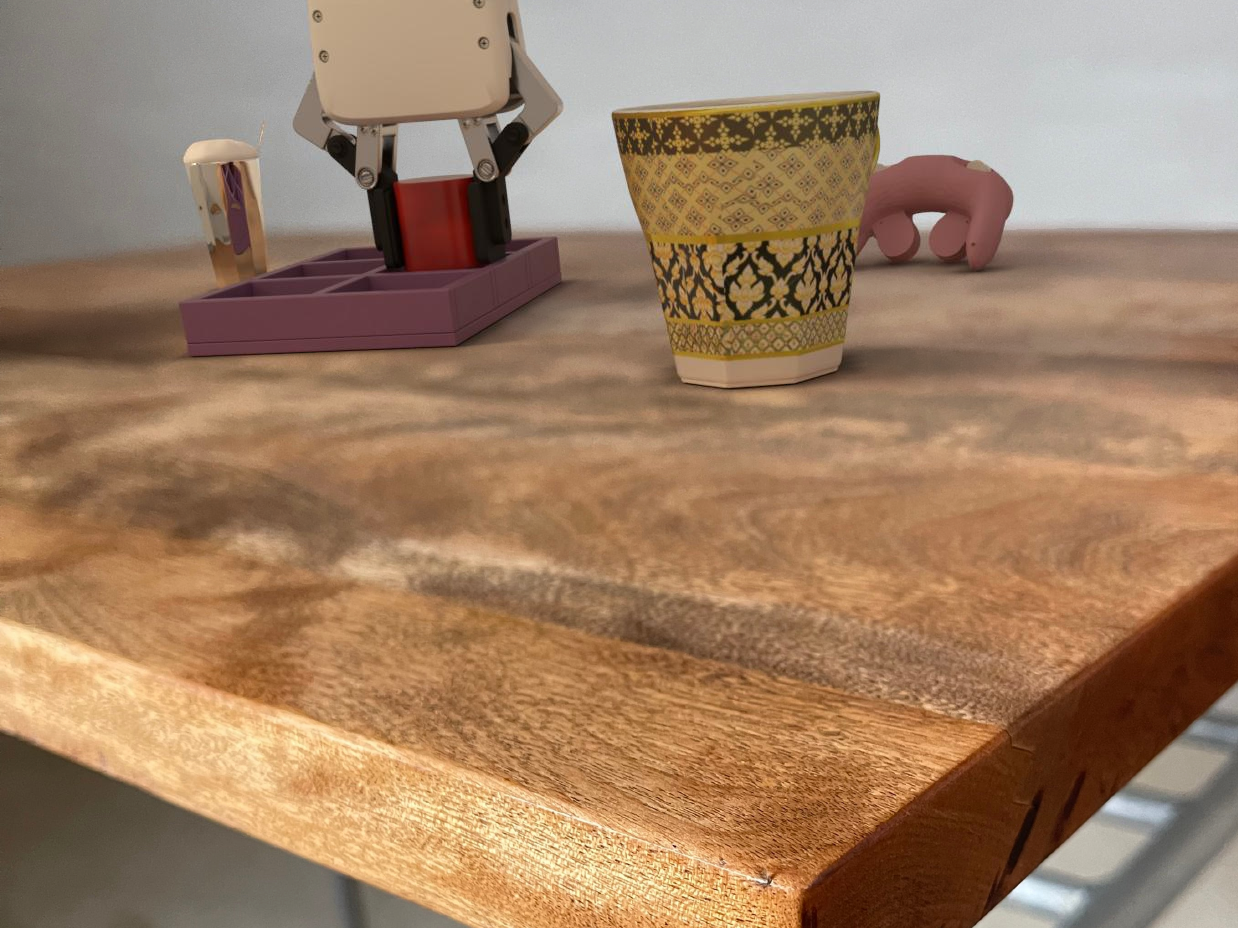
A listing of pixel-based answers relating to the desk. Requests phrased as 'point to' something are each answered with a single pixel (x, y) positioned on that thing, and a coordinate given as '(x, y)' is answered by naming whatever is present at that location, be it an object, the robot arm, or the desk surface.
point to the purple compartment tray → (366, 303)
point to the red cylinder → (435, 222)
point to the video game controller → (937, 208)
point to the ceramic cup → (752, 227)
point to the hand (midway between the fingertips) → (446, 259)
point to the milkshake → (229, 206)
